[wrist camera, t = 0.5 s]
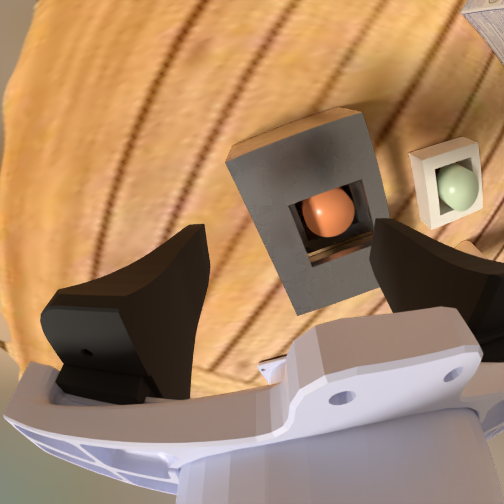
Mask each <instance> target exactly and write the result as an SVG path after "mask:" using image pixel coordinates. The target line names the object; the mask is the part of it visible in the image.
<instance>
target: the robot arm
mask: <svg viewBox="0 0 504 504" xmlns="http://www.w3.org/2000/svg"><path fill="white" fill-rule="evenodd" d="M369 261H370V264H371V267H372V270H373V273H374V275H375V278H376V280H377V282H378V284H379V286H380V288H381V290H382V292H383V294H384V296H385V298H386V300H387V302H388V304H389V306H390V308H391V310H392V312H393V313H390V314H382V315H373V316H363V317H353V318H342V319H338V320H334V321H330V322H326V323H323V324H319V325H316V326H314V327H313V328H311V329H310V330H308V331H307V332H305V333H304V334H303V335H301V336H300V337H298V338H297V339H295V340H294V341H293V343H292V345H291V348H290V350H289V352H288V354H287V356H284V357H280V358H277V359H273V360H269V361H265V362H261V363H258V365H257V368H258V369H259V371H260V372H261V374H262V375H263V376H264V378H265V379H266V380H267V382H268V383H269V384H270V385H266V386H261V387H257V388H252V389H247V390H242V391H237V392H231V393H226V394H220V395H214V396H207V397H201V398H194V399H190V387H191V373H192V362H193V352H194V344H195V336H196V331H197V326H198V322H199V318H200V314H201V311H202V307H203V303H204V299H205V295H206V292H207V288H208V283H209V275H210V260H209V253H208V246H207V239H206V232H205V225H204V224H193V225H188V226H187V227H185V228H184V229H182V230H181V231H180V232H178V233H177V234H176V235H174V236H173V237H172V238H170V239H169V240H168V241H166V242H165V243H164V244H162V245H161V246H159V247H158V248H156V249H155V250H153V251H152V252H150V253H149V254H147V255H146V256H144V257H143V258H141V259H139V260H137V261H136V262H134V263H132V264H130V265H128V266H126V267H124V268H122V269H119V270H117V271H115V272H113V273H111V274H108V275H106V276H103V277H101V278H98V279H95V280H92V281H89V282H86V283H82V284H79V285H75V286H71V287H67V288H63V289H59V290H57V292H56V293H55V295H54V296H53V297H52V299H51V300H50V302H49V303H48V304H47V306H46V307H45V308H44V310H43V312H42V313H41V319H40V322H41V326H42V330H43V332H44V334H45V336H46V338H47V340H48V341H49V343H50V344H51V346H52V347H53V349H54V350H55V352H56V353H57V355H58V356H59V358H60V359H61V361H62V362H63V363H64V365H63V367H62V369H61V371H59V370H57V369H56V368H54V367H52V366H49V365H45V364H41V363H37V362H33V361H32V362H30V363H29V365H28V367H27V368H26V370H25V372H24V374H23V376H22V378H21V380H20V382H19V384H18V385H17V387H16V389H15V391H14V393H13V395H12V397H11V399H10V402H9V404H8V406H7V408H6V410H5V412H4V415H3V416H4V418H5V419H6V420H7V421H8V422H9V423H10V424H11V425H13V426H14V427H15V428H16V429H17V430H18V431H20V432H21V433H22V434H23V435H24V436H25V437H27V438H28V439H29V440H31V441H32V442H33V443H34V444H36V445H37V446H38V447H40V448H41V449H42V450H44V451H45V452H47V453H49V454H51V455H53V456H56V457H58V458H61V459H63V460H66V461H68V462H70V463H73V464H76V465H78V466H80V467H83V468H86V469H88V470H91V471H93V472H96V473H99V474H102V475H105V476H108V477H111V478H114V479H117V480H120V481H123V482H127V483H130V484H133V485H137V486H140V487H144V488H148V489H152V490H156V491H160V492H165V493H170V494H175V495H177V499H176V504H504V497H503V493H502V489H501V485H500V482H499V478H498V474H497V471H496V468H495V464H494V461H493V458H492V455H491V452H490V449H489V446H488V443H487V441H488V440H490V439H491V438H493V437H495V436H496V435H498V434H499V433H501V432H502V431H504V263H501V262H496V261H492V260H488V259H484V258H480V257H477V256H474V255H471V254H468V253H465V252H462V251H460V250H457V249H455V248H452V247H449V246H447V245H445V244H443V243H441V242H438V241H436V240H434V239H432V238H430V237H428V236H426V235H424V234H422V233H420V232H418V231H416V230H414V229H412V228H410V227H408V226H406V225H404V224H402V223H400V222H398V221H395V220H393V219H390V218H375V225H374V232H373V238H372V244H371V250H370V256H369Z"/></svg>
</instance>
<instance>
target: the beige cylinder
mask: <svg viewBox="0 0 504 504" xmlns="http://www.w3.org/2000/svg"><path fill="white" fill-rule="evenodd" d="M455 249H457V250H460V251H462V252H465V253H468V254H471V255H474V256H477V257H480V258H484V259H487V258H486V257H485V256H484V255H483V254H482V253H481V252H480V251H479V250H478V249H477V248H476V247H475V246H474V245H473V244H472V243H471V242H470V241H463V242H461V243H459V244H458V245H457V246H456V248H455Z"/></svg>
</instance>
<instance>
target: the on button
mask: <svg viewBox="0 0 504 504" xmlns="http://www.w3.org/2000/svg"><path fill="white" fill-rule="evenodd" d="M436 182H437V190H438V197H439V198H440V199H441V200H442V201H444V202H445V203H446V204H448V205H449V206H450V207H451V208H453V209H454V210H456V211H459V212H462V211H466V210H467V209H469V208H470V207H471V206H472V205H473V204H474V202H475V201H476V199H477V196H478V192H479V182H478V179H477V176H476V175H475V174H474V173H473V172H472V171H470V170H468V169H466V168H464V167H463V166H461V165H459V164H457V163H452V164H449V165H446V166H443V167H442V168H441V169H440V170H439V172H438V174H437V176H436Z"/></svg>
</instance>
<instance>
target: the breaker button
mask: <svg viewBox="0 0 504 504" xmlns="http://www.w3.org/2000/svg"><path fill="white" fill-rule="evenodd" d="M300 206H301V210H302V213H303V216H304V219H305V222H306V224H307V226H308V228H309V229H310V230H311V231H312V232H313V233H315V234H316V235H319V236H322V237H333V236H337V235H339V234H341V233H343V232H344V231H345V230H346V229H347V228H348V227H349V226H350V224H351V223H352V221H353V218H354V205H353V202H352V200H351V199H350V198H349V196H348V195H347V194H346V193H345V191H344V190H343V189H342V188H341V187H338V188H335V189H332V190H329V191H327V192H324V193H321V194H318V195H316V196H313V197H310V198H307V199H305V200H302V201H300Z"/></svg>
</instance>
